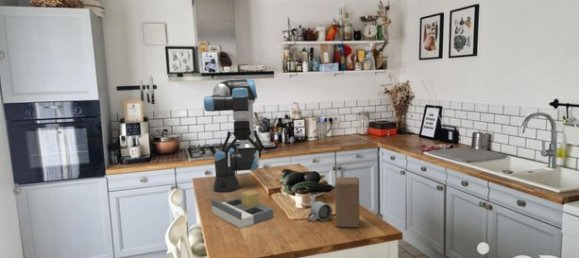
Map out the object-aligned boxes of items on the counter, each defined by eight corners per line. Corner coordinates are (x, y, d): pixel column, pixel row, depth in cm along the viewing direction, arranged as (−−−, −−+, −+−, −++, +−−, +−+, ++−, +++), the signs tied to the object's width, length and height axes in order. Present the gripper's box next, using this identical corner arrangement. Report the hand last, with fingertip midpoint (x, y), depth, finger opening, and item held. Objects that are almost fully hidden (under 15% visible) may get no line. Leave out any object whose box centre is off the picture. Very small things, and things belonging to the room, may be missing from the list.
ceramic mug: (323, 213, 182) (322, 198, 181) (332, 219, 175) (332, 202, 174) (303, 218, 178) (303, 202, 177) (312, 224, 171) (312, 207, 169)
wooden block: (359, 228, 164) (358, 183, 161) (335, 227, 166) (334, 182, 163) (359, 219, 173) (359, 176, 170) (337, 218, 175) (336, 176, 172)
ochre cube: (252, 201, 191) (251, 190, 190) (259, 204, 186) (258, 192, 185) (241, 204, 187) (241, 192, 186) (248, 207, 183) (247, 195, 182)
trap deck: (243, 204, 200) (242, 191, 199) (273, 217, 180) (272, 203, 179) (212, 213, 189) (211, 199, 188) (240, 228, 169) (239, 213, 168)
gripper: (215, 121, 175) (217, 167, 174) (268, 119, 181) (271, 164, 180) (214, 122, 182) (216, 167, 181) (266, 120, 188) (268, 163, 188)
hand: (243, 165), depth 181 cm, fingers open, 13 cm apart
